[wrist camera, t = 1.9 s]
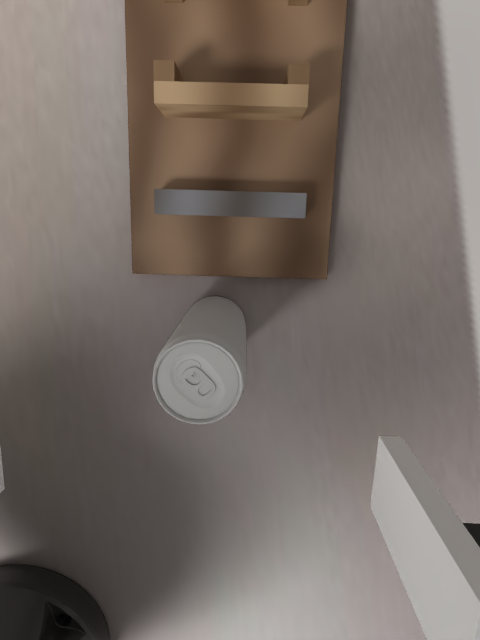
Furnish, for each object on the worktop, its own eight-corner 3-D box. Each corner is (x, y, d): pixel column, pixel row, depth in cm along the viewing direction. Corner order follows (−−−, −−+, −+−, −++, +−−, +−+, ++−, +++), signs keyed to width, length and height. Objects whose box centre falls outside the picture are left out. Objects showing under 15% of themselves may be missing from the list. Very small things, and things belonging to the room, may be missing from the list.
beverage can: (217, 281, 32) (199, 316, 21) (260, 328, 33) (266, 386, 21) (171, 323, 33) (129, 379, 21) (214, 367, 34) (195, 445, 22)
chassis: (136, 271, 32) (118, 279, 28) (127, -76, 27) (103, -136, 23) (323, 277, 32) (336, 286, 27) (348, -71, 27) (369, -131, 22)
